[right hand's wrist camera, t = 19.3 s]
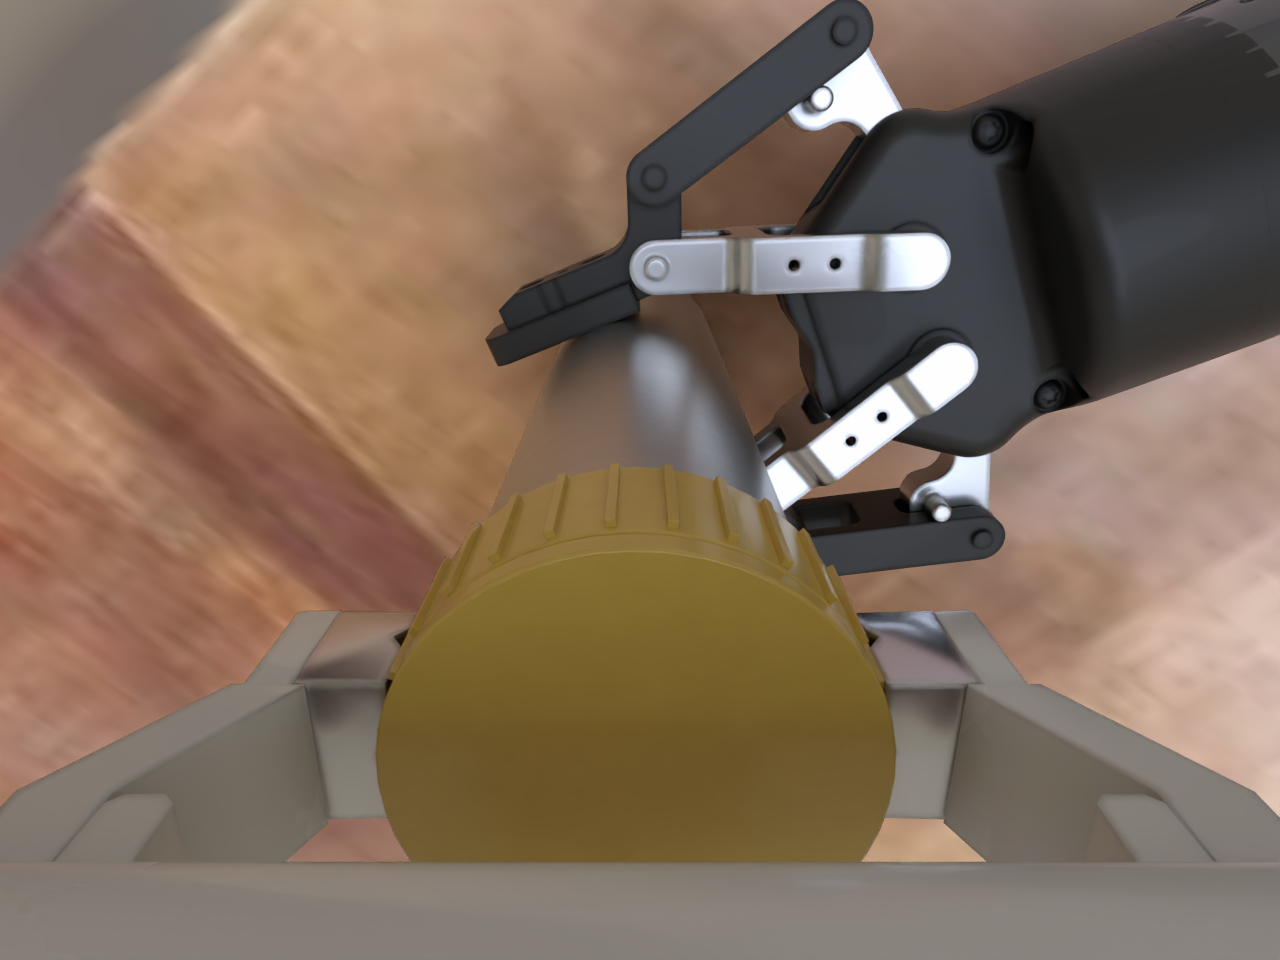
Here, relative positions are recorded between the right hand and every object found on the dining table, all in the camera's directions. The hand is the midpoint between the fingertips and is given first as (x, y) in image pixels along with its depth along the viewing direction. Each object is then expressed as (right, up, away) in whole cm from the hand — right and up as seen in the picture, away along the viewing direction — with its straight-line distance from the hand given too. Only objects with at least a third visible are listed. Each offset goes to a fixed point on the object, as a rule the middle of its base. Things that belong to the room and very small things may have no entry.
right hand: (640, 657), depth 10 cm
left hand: (-2, +3, +11) cm, 12 cm away
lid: (0, -1, -2) cm, 2 cm away
